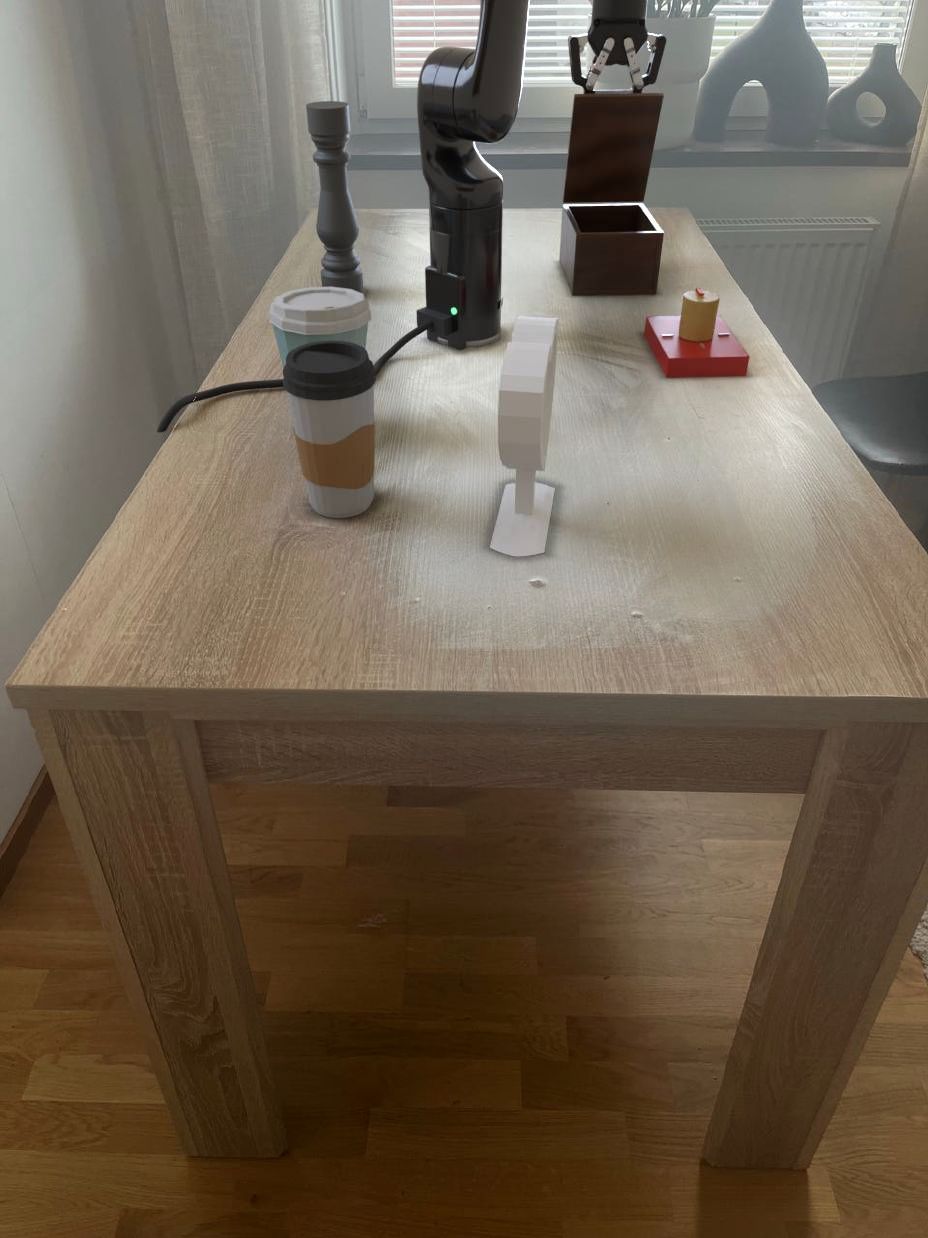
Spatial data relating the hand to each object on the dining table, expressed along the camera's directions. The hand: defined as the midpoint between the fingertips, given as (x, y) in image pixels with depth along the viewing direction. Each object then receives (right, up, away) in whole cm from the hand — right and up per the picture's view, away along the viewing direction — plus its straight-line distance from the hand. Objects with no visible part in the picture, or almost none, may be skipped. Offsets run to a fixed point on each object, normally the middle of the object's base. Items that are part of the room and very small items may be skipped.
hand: (610, 117), depth 136 cm
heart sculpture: (-16, -64, -47) cm, 81 cm away
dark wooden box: (0, -21, +7) cm, 22 cm away
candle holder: (-40, -25, +2) cm, 47 cm away
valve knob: (+8, -38, -18) cm, 42 cm away
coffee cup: (-34, -63, -45) cm, 84 cm away
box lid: (0, -5, 0) cm, 5 cm away
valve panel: (+8, -40, -16) cm, 44 cm away
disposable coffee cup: (-36, -53, -32) cm, 72 cm away
